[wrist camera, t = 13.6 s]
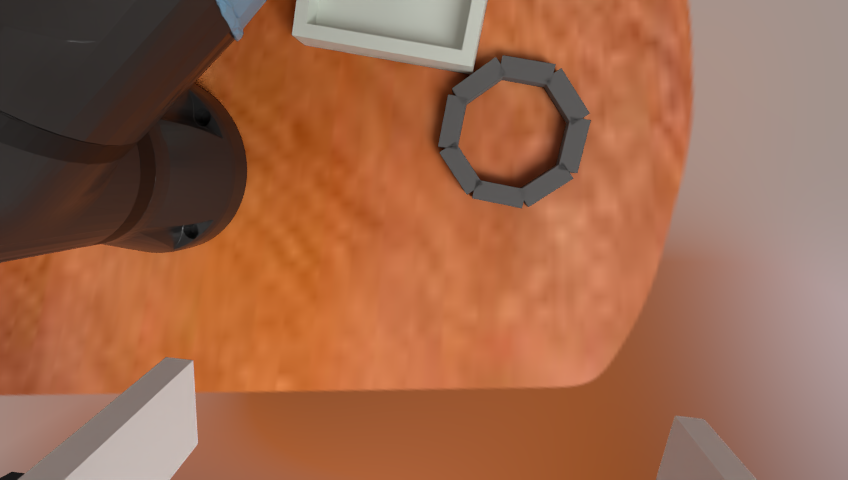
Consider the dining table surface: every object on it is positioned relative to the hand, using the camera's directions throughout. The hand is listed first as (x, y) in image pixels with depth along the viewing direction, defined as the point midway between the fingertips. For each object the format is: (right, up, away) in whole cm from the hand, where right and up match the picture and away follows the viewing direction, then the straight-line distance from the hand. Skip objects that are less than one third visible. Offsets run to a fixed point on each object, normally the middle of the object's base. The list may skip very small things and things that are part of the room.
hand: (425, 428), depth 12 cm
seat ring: (+7, +14, +22) cm, 27 cm away
